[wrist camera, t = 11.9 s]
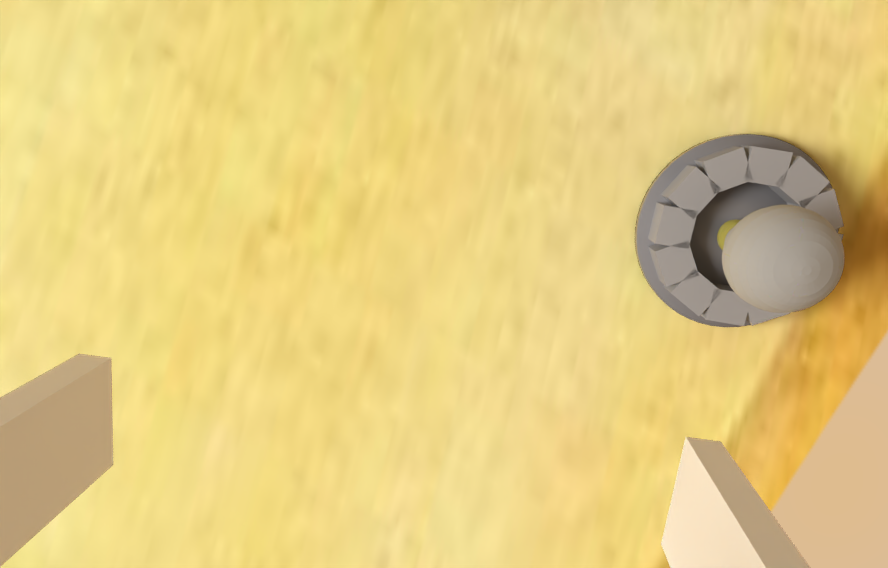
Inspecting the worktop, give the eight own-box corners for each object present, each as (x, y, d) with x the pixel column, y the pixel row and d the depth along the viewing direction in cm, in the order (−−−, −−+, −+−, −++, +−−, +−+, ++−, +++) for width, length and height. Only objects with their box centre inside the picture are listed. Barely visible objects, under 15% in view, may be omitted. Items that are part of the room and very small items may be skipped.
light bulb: (695, 289, 41) (759, 339, 31) (675, 206, 39) (734, 232, 30) (784, 264, 40) (877, 308, 30) (766, 179, 39) (857, 197, 29)
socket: (659, 119, 39) (670, 119, 37) (858, 151, 39) (883, 152, 36) (616, 306, 42) (624, 318, 40) (800, 337, 42) (820, 351, 39)
